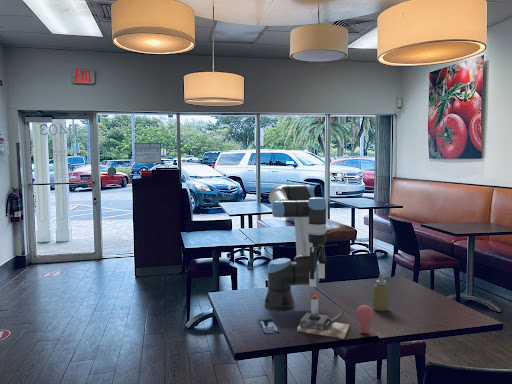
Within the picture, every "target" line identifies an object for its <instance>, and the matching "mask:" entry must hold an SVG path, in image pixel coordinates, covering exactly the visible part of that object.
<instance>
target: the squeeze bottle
mask: <svg viewBox="0 0 512 384" xmlns="http://www.w3.org/2000/svg"><path fill="white" fill-rule="evenodd" d="M371 303H372V306H373V309H374V310H375V311H378V312H386V311H387V310H388V308H389V305H390V295H389V286H388V285H387V280H385V279H384V275H383V273H382V272H380V273H379V276H378V279H376V280H375V284H374V286H373V291H372V301H371Z"/></svg>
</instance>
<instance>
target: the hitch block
mask: <svg viewBox="0 0 512 384" xmlns="http://www.w3.org/2000/svg"><path fill="white" fill-rule="evenodd" d="M331 319H332V318H331V317H329V315H327V314H326V315H325V314H321V313H318V321H316V320H311V312H306V313H305V314H304V315H303V316H302V318H301V319H300V321H299V325H298V326H297V328H296V330H297V331H296V332H299V331H300V332H301V333H305V332H306V333H305V334H311V333H312V334H311V335H313V334H314V335H320V336H324V335H325V336H326V337H330V336H331V338H336V337H337V338H336V339H342V340H343V339H345V338H346V335H347V333H348V331H350V330H349V329H350V324H348V323H341V322H337V321H336V322H334V323H333V324H331V325H330V326H329V327H328V324H327V322H328V321H329V320H331Z"/></svg>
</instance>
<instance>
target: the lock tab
mask: <svg viewBox="0 0 512 384" xmlns="http://www.w3.org/2000/svg"><path fill="white" fill-rule="evenodd" d="M344 315H345V313H344V311H342V312H340V313H339V314H337V315H336V316H334V317H333V318H331V320H329V321H328V322H327V324H328V327H329V326H330V325H331V324H333V323H334V322H336V323H337V321H339V320H340V319H342V318H343V317H344Z"/></svg>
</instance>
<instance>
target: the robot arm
mask: <svg viewBox="0 0 512 384" xmlns="http://www.w3.org/2000/svg"><path fill="white" fill-rule="evenodd" d="M268 201H269V203H270V204H271V214H272V217H274V218H278V219H279V218H294V232H295V233H294V235H295V248H296V249H295V250H296V251H295V252H296V256H295V257H294V258H293V261H292V260H291V258H287V257H281V258H280V257H279V258H276V259H272V260H271V261H269V262H268V264H267V292H266V295H265V299H264V307H265V306H266V307H267V309H268V308H270V309H269V310H272V309H274V310H273V311H287V310H290V309H293V308H294V307H295V299H294V296H293V294H292V286H307V285H308V286H309V287H313V288H316V287H317V284H319V283H320V279H323V280H324V279H325V277H326V276H325V275H326V273H325V271H326V269H325V268H326V266H325V265H326V264H328V263H327V257H326V256H327V255H326V251H325V244H326V243H327V234H326V233H327V229H328V226H327V208H328V207H327V199H326V198H325V197H320V196H318V197H317V196H315V191H314V188H313V187H312V186H311V184H281V185H277V186H276V187H274V188H272V189H271V190H270V191H269V194H268ZM266 307H265V308H266Z"/></svg>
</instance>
